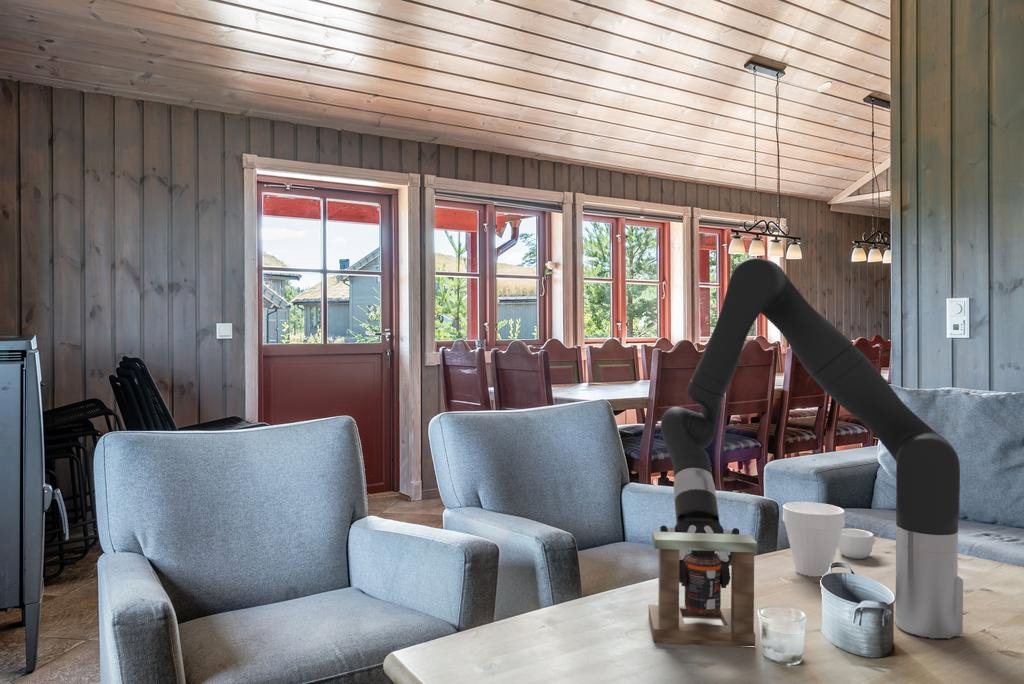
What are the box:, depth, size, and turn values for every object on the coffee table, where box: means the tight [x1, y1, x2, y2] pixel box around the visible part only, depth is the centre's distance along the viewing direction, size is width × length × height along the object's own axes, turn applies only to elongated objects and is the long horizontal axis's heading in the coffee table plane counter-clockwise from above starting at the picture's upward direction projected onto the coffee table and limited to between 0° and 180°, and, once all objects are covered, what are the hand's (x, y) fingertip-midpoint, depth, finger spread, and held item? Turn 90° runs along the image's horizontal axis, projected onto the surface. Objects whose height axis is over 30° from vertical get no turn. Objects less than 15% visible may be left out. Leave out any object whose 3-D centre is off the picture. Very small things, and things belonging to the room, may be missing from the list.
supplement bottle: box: [684, 550, 722, 615], centre depth 125 cm, size 6×6×11 cm
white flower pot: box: [782, 501, 846, 577], centre depth 157 cm, size 12×12×14 cm
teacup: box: [837, 528, 876, 560], centre depth 169 cm, size 10×8×5 cm
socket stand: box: [648, 531, 758, 648], centre depth 124 cm, size 16×12×17 cm
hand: (704, 584), depth 124 cm, fingers closed on supplement bottle, 6 cm apart
